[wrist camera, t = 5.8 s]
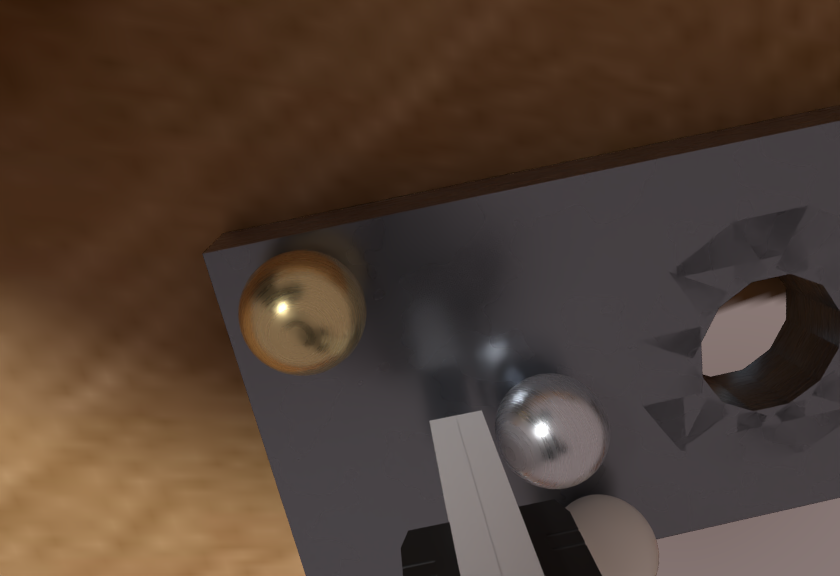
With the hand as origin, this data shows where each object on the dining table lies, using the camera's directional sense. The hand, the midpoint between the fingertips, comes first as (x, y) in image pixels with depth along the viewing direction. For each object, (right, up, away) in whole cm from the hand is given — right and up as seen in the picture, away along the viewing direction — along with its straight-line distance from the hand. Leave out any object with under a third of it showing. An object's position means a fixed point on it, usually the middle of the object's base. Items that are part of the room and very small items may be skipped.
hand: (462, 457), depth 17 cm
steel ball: (+2, +1, 0) cm, 3 cm away
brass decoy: (-4, +4, -2) cm, 6 cm away
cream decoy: (+4, -3, +2) cm, 6 cm away
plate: (+5, +3, +4) cm, 7 cm away
